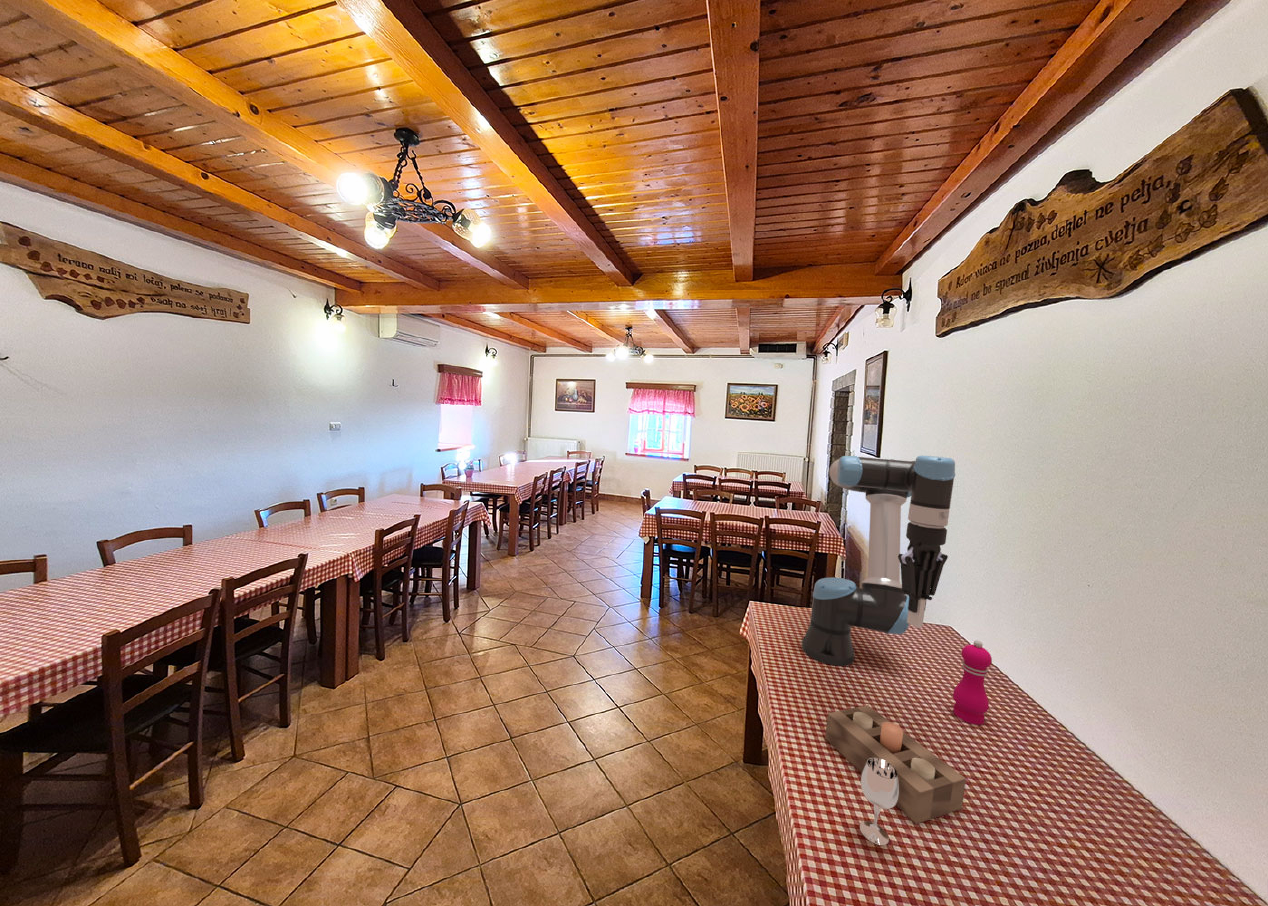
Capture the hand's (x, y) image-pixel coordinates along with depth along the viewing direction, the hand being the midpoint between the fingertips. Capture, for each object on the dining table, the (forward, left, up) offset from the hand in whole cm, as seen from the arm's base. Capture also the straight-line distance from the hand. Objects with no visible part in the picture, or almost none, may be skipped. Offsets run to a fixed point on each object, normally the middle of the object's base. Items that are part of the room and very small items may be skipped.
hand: (914, 624), depth 102 cm
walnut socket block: (+8, -14, -26) cm, 31 cm away
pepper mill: (0, +23, -26) cm, 35 cm away
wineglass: (+18, -29, -26) cm, 43 cm away
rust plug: (+8, -14, -23) cm, 28 cm away
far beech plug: (+1, -14, -25) cm, 29 cm away
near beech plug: (+15, -14, -25) cm, 33 cm away
